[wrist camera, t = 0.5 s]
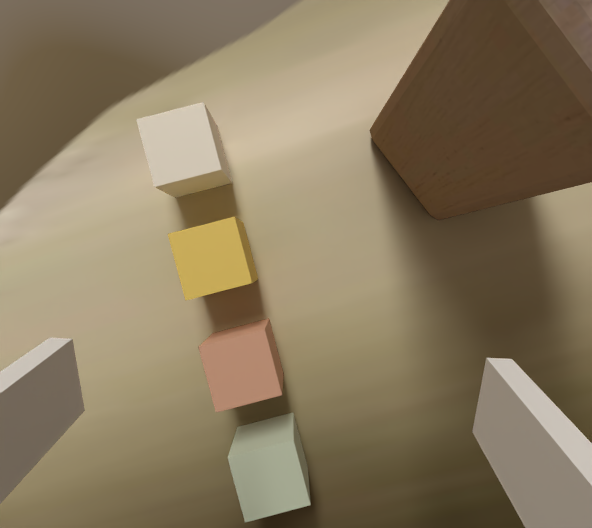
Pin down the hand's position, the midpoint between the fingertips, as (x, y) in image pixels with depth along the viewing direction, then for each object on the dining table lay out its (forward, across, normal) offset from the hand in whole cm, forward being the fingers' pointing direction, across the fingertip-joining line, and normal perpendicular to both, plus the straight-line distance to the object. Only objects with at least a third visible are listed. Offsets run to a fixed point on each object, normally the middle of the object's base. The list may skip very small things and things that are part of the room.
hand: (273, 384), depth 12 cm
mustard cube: (+20, +7, +2) cm, 21 cm away
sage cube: (+16, +2, +17) cm, 24 cm away
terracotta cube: (+18, +4, +10) cm, 21 cm away
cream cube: (+22, +9, -6) cm, 25 cm away
